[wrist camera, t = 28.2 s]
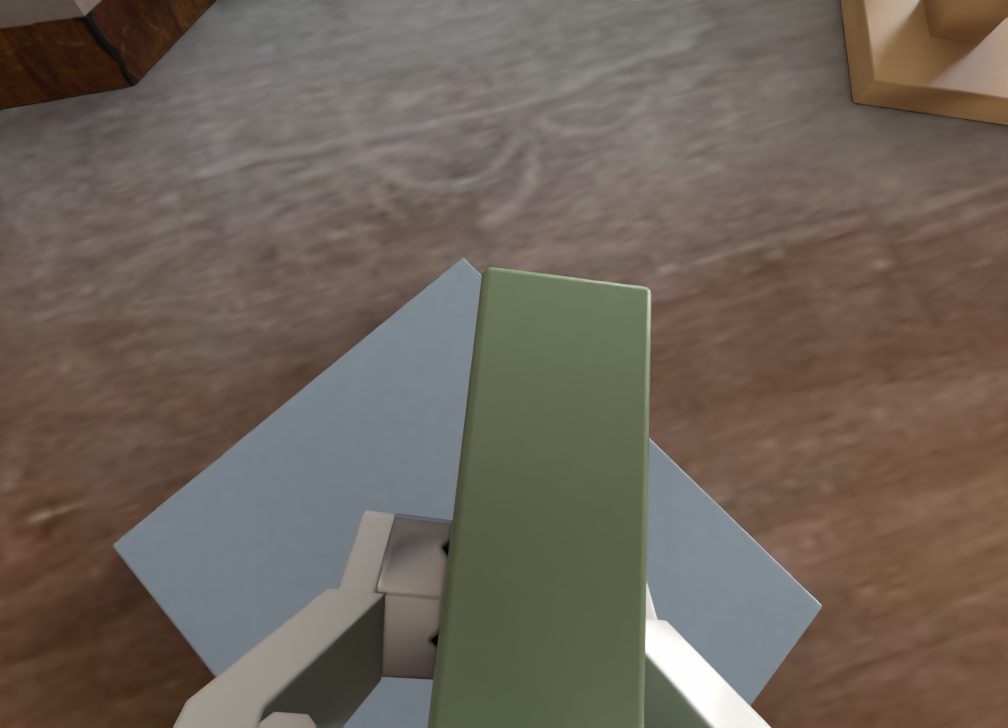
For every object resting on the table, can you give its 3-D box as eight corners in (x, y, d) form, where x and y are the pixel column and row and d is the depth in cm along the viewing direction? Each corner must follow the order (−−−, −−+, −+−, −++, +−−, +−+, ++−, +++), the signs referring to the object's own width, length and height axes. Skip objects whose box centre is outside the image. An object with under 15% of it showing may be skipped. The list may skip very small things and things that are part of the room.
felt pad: (801, 602, 16) (824, 606, 15) (500, 1010, 13) (504, 1048, 12) (462, 270, 18) (463, 255, 17) (131, 545, 15) (109, 545, 14)
